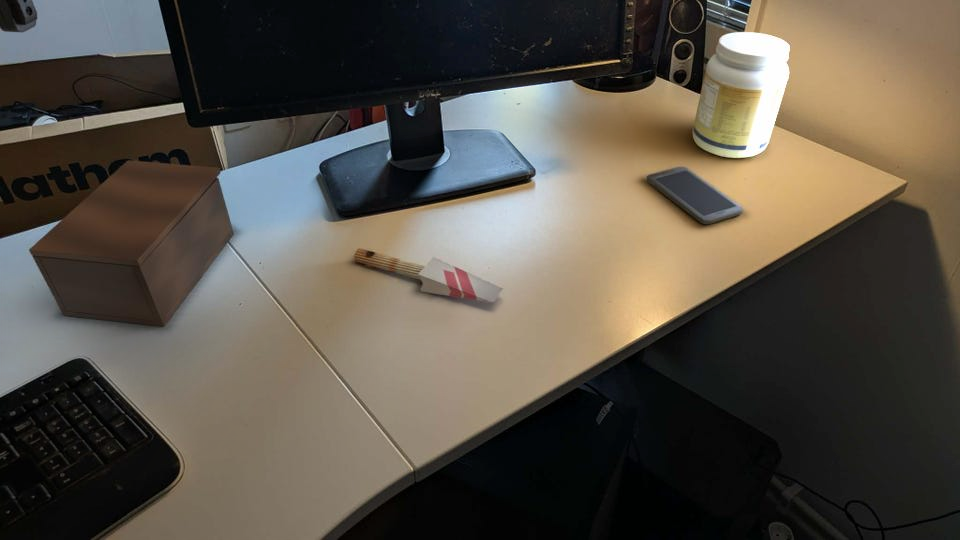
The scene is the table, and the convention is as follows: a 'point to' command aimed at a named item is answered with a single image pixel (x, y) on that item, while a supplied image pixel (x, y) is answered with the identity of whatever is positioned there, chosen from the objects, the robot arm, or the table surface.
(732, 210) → the cell phone
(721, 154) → the supplement tub
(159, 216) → the lid
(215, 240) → the chest
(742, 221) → the table surface
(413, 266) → the white and wood paddle
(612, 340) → the table surface
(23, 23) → the robot arm
